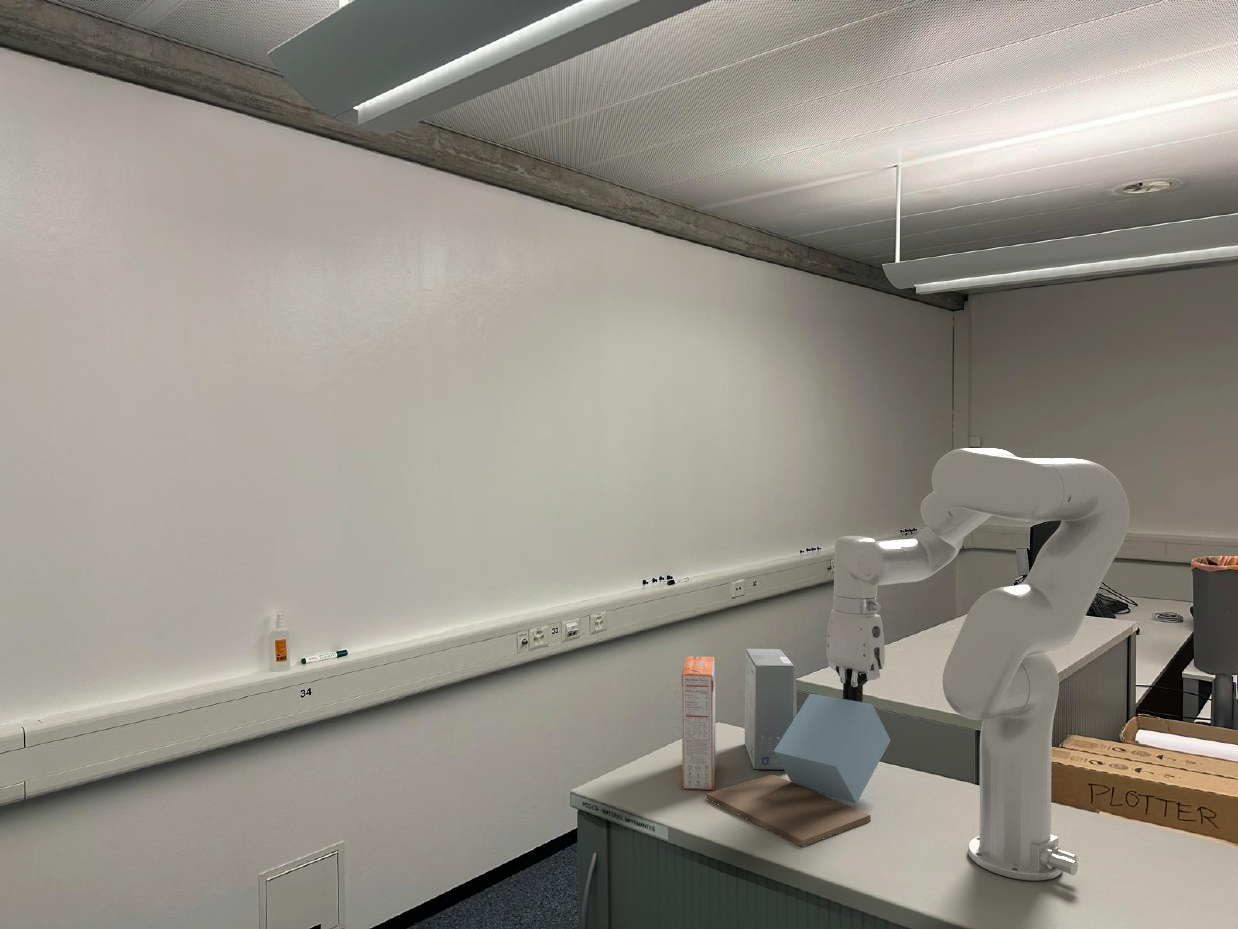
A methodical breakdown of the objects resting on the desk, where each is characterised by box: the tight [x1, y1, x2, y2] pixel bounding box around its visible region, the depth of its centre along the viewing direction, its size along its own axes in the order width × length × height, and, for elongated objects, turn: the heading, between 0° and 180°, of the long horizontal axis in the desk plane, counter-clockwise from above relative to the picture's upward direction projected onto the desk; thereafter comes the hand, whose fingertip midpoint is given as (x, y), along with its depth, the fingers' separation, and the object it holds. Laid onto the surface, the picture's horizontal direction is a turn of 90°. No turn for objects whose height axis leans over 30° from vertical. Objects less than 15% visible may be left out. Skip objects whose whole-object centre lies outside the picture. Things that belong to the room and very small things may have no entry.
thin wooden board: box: [706, 773, 872, 848], centre depth 142 cm, size 22×16×1 cm
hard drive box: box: [744, 648, 795, 771], centre depth 168 cm, size 16×8×20 cm, turn 179°
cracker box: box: [681, 655, 716, 791], centre depth 157 cm, size 14×6×21 cm, turn 172°
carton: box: [774, 693, 891, 804], centre depth 150 cm, size 13×14×9 cm
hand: (852, 705), depth 153 cm, fingers closed
